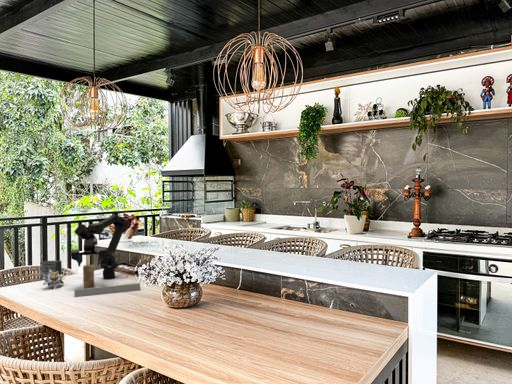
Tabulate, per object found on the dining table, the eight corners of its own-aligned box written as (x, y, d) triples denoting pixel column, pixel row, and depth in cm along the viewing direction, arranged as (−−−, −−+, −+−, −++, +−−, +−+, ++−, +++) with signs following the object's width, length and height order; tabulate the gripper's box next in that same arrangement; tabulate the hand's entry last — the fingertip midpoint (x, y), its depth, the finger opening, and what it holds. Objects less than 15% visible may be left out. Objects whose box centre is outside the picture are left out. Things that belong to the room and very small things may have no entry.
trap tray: (138, 284, 222) (138, 278, 222) (140, 290, 210) (140, 283, 210) (76, 290, 211) (76, 284, 211) (74, 296, 199) (74, 290, 199)
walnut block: (94, 290, 211) (93, 264, 211) (94, 292, 206) (93, 266, 206) (84, 291, 209) (83, 265, 209) (83, 293, 204) (83, 267, 204)
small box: (62, 276, 248) (62, 260, 248) (56, 279, 241) (55, 262, 241) (46, 276, 249) (46, 260, 249) (40, 279, 242) (39, 262, 242)
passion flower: (55, 298, 218) (44, 283, 211) (43, 292, 223) (32, 278, 216) (71, 283, 225) (61, 269, 218) (59, 278, 230) (50, 263, 223)
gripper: (70, 235, 216) (68, 258, 206) (106, 233, 222) (107, 255, 212) (72, 247, 223) (70, 270, 213) (107, 245, 230) (107, 267, 220)
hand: (89, 265), depth 214 cm, fingers open, 9 cm apart
